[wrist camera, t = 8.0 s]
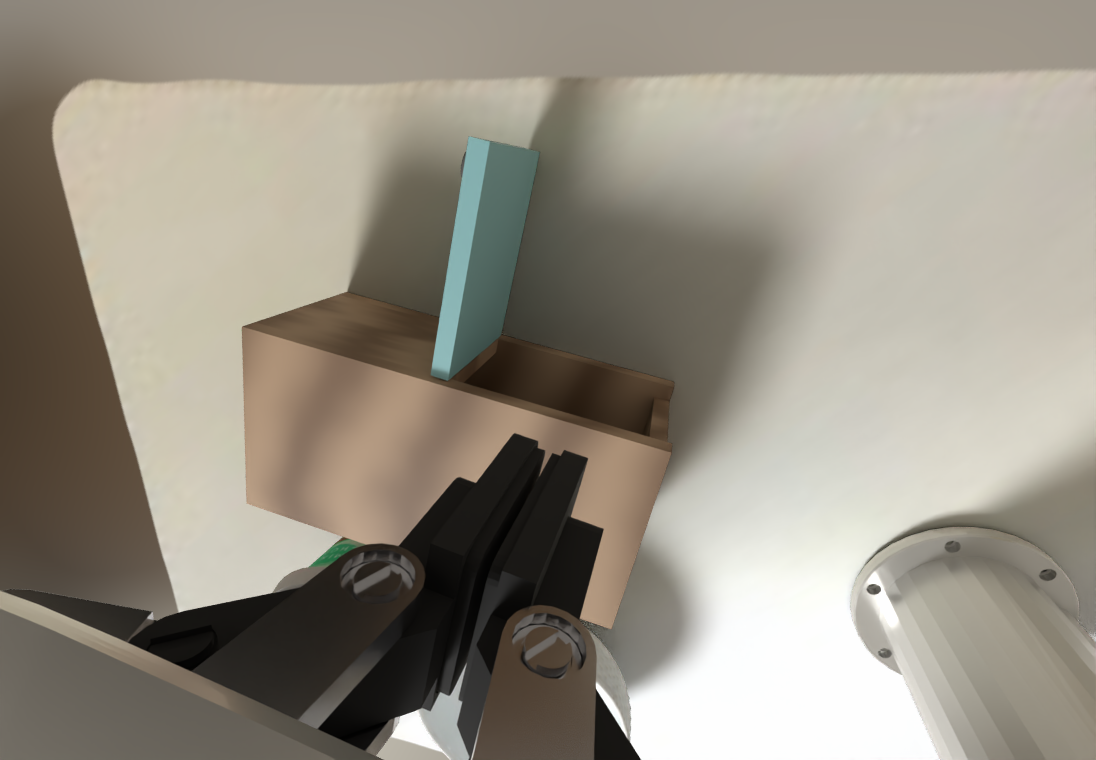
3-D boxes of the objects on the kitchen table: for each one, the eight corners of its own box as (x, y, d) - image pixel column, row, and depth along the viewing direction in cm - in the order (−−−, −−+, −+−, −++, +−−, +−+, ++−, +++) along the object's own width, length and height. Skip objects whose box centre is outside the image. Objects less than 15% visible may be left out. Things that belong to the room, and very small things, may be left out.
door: (505, 143, 32) (443, 129, 24) (539, 152, 31) (489, 141, 23) (471, 326, 36) (409, 368, 28) (501, 335, 36) (447, 380, 28)
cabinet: (674, 381, 35) (671, 452, 26) (627, 526, 40) (611, 629, 30) (346, 292, 38) (241, 326, 29) (339, 435, 43) (246, 503, 34)
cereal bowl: (626, 573, 41) (616, 646, 35) (645, 729, 46) (639, 818, 40) (429, 566, 46) (388, 629, 39) (466, 709, 51) (435, 785, 44)
